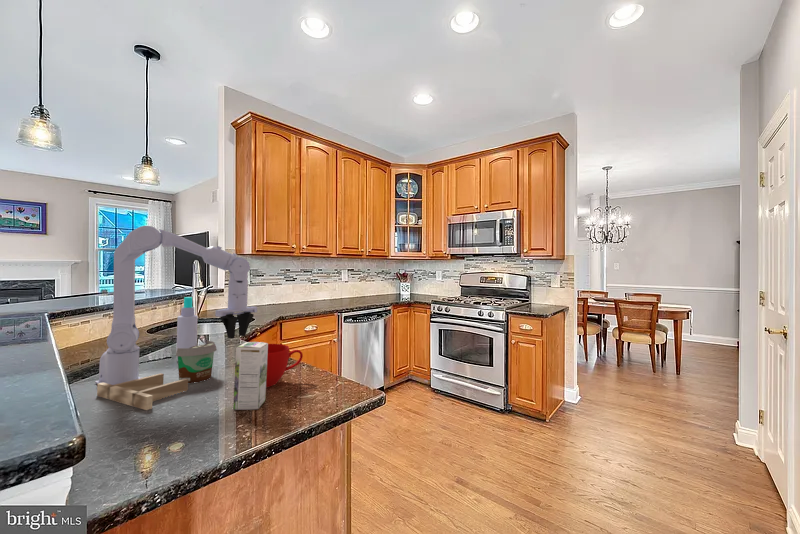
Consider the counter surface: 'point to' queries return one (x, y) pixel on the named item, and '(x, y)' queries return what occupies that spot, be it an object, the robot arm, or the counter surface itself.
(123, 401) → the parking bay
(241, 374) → the syrup box
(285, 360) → the ceramic cup
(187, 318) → the spray bottle
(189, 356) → the food container
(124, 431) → the counter surface
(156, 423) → the counter surface
